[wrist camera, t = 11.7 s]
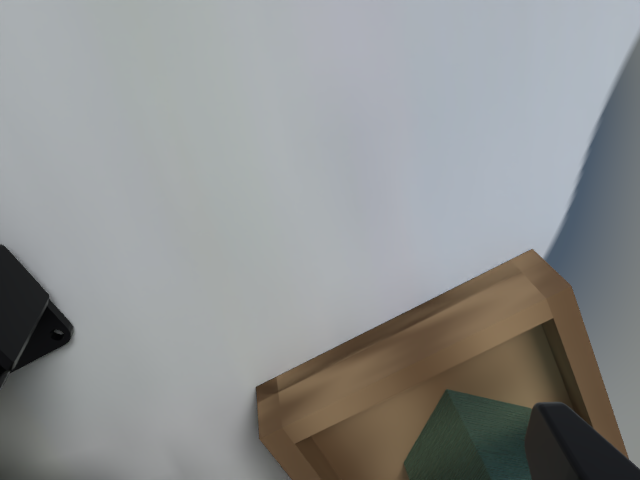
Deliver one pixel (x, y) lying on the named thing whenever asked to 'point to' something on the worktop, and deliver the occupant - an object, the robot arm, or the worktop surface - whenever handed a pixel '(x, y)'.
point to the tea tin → (471, 441)
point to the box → (435, 374)
